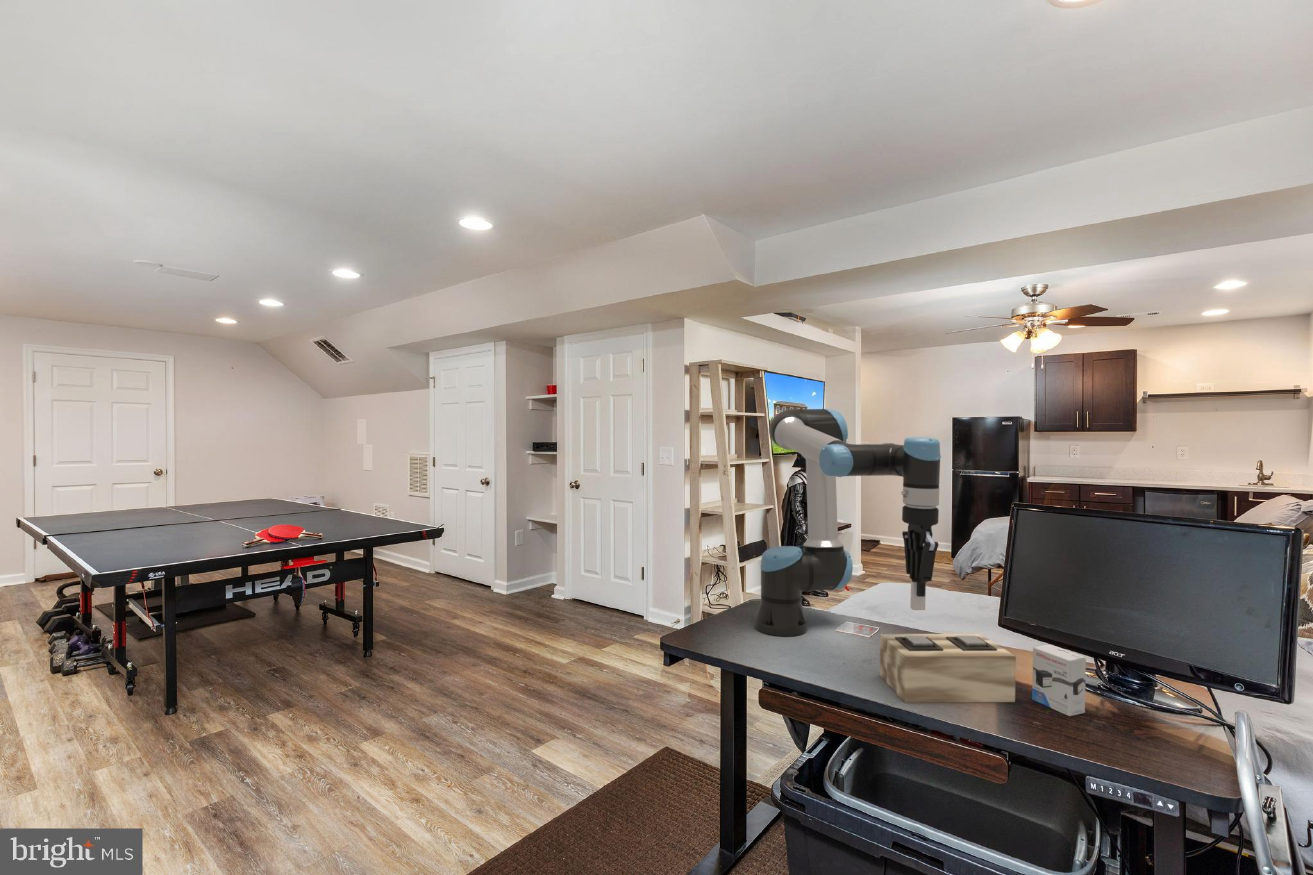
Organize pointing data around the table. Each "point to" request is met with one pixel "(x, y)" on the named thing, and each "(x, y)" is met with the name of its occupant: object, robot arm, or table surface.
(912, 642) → the peg
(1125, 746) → the table surface
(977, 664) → the socket block
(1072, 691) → the ink box
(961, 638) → the peg
